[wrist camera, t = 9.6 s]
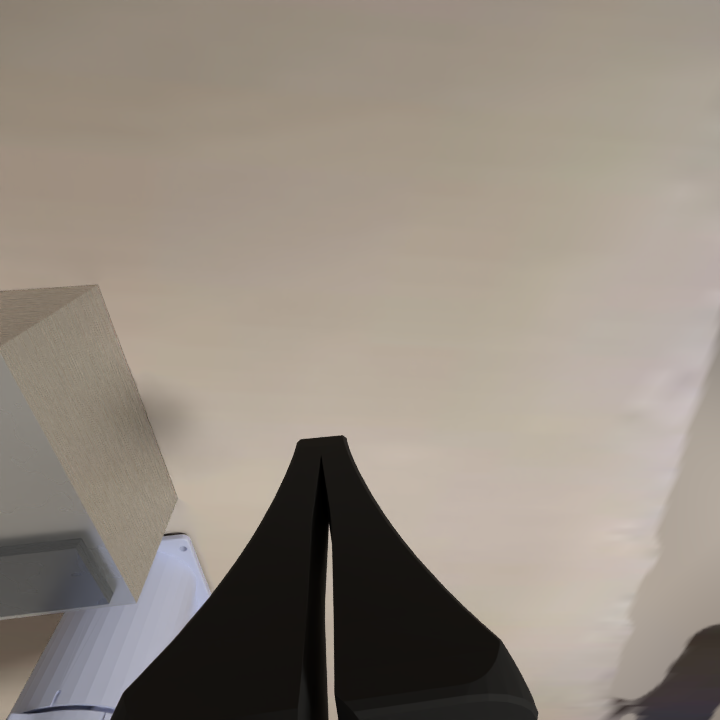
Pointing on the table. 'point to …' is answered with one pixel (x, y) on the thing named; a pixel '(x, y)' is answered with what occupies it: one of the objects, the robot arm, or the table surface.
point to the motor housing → (73, 459)
